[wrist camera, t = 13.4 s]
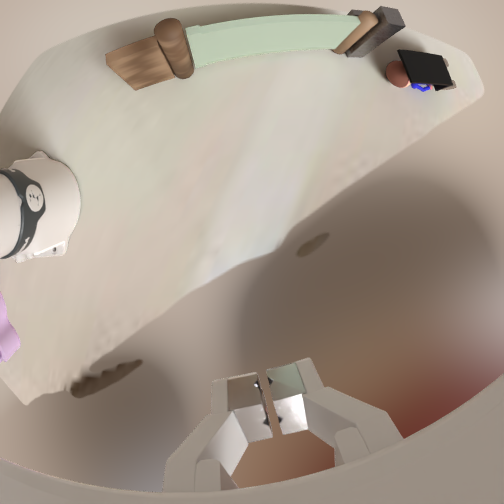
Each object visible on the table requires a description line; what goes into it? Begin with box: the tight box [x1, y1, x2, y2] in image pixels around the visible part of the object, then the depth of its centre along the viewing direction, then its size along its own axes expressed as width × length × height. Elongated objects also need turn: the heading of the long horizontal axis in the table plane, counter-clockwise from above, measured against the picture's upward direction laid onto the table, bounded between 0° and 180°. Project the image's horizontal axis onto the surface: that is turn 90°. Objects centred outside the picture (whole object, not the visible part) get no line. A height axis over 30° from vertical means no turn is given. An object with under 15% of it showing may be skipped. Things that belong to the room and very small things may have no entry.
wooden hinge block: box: [105, 18, 194, 91], centre depth 28 cm, size 10×3×14 cm, turn 103°
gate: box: [185, 11, 378, 68], centre depth 29 cm, size 24×2×12 cm, turn 103°
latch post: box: [346, 6, 405, 57], centre depth 28 cm, size 6×4×14 cm
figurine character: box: [386, 49, 456, 92], centre depth 34 cm, size 7×8×15 cm
